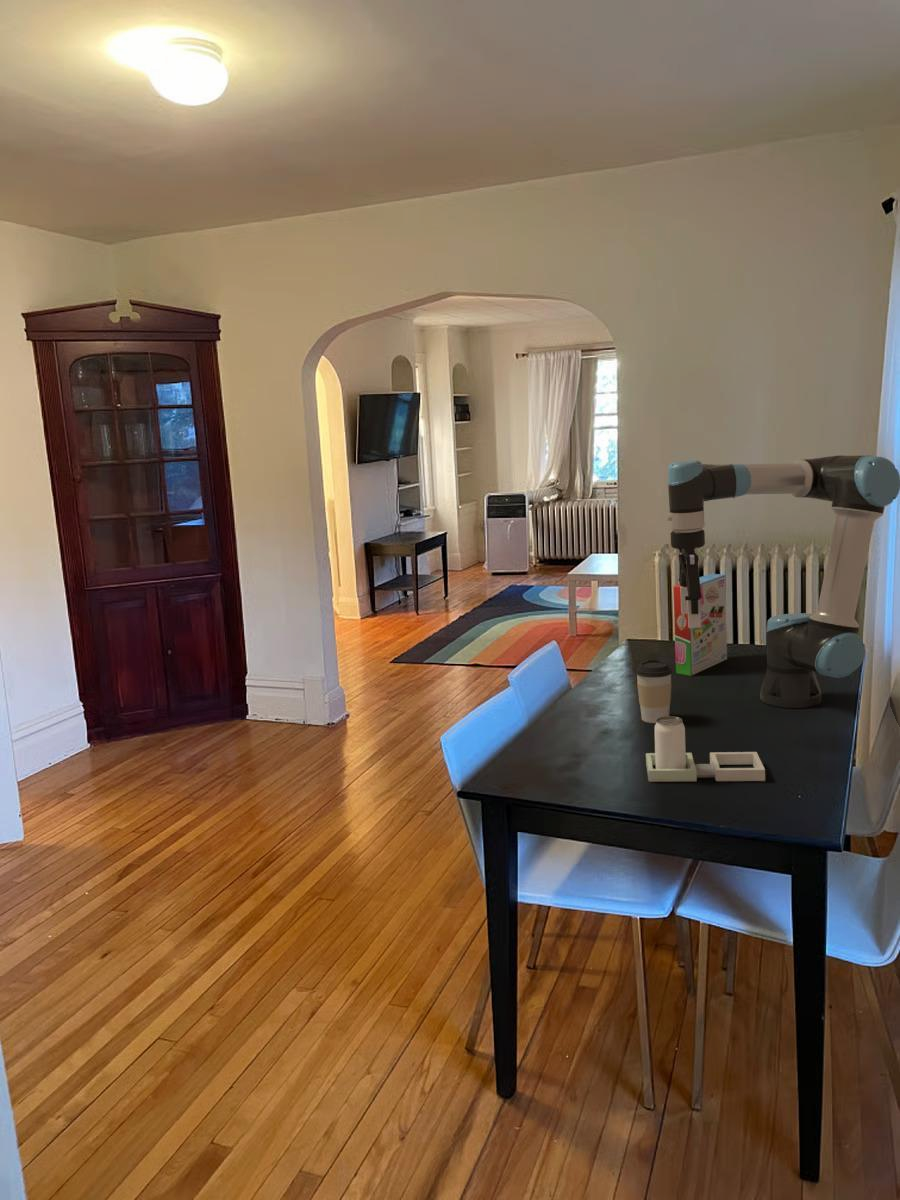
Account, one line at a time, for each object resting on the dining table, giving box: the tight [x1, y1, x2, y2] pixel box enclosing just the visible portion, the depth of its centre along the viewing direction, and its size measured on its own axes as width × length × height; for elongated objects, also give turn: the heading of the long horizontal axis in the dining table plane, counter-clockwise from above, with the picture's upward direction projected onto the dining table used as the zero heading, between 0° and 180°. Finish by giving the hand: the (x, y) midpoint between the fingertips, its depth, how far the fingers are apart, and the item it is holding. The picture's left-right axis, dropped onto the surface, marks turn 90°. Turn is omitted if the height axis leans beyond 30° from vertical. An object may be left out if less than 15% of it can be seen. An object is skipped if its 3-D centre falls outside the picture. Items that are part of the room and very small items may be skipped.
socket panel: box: [645, 751, 766, 783], centre depth 192 cm, size 24×10×2 cm, turn 81°
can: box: [654, 715, 687, 769], centre depth 192 cm, size 6×6×12 cm
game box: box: [672, 573, 728, 677], centre depth 266 cm, size 21×6×27 cm, turn 133°
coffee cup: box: [635, 658, 673, 724], centre depth 225 cm, size 9×9×15 cm
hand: (691, 620), depth 204 cm, fingers open, 13 cm apart
